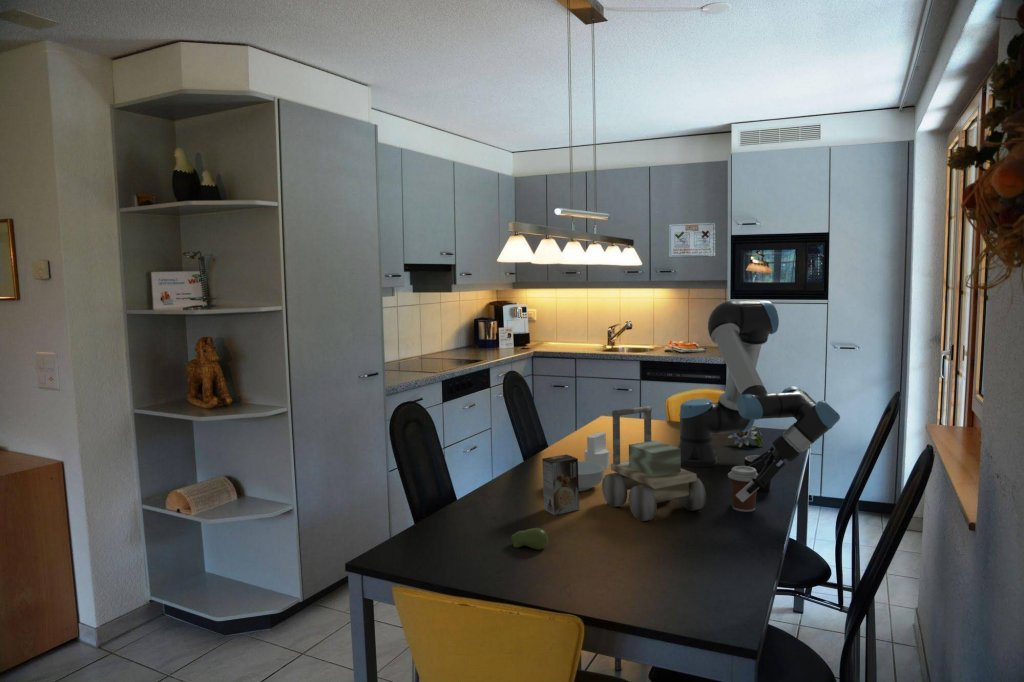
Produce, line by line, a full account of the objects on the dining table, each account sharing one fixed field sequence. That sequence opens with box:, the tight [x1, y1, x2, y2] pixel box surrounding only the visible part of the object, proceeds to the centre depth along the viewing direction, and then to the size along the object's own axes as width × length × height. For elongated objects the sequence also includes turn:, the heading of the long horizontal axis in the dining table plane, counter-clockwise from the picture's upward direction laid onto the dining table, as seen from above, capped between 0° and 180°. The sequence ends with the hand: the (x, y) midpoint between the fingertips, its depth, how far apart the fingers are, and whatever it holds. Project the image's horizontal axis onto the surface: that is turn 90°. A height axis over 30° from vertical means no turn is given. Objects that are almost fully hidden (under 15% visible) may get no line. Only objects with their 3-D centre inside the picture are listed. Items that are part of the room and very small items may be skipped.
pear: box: [510, 527, 549, 551], centre depth 175 cm, size 6×5×10 cm
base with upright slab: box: [584, 431, 610, 470], centre depth 248 cm, size 9×9×12 cm
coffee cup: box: [727, 465, 758, 513], centre depth 200 cm, size 9×9×12 cm
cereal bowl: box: [578, 460, 605, 492], centre depth 224 cm, size 17×17×7 cm
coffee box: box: [541, 454, 580, 516], centre depth 202 cm, size 9×6×16 cm
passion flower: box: [726, 425, 764, 448], centre depth 274 cm, size 11×11×12 cm
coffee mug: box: [743, 454, 772, 493], centre depth 219 cm, size 12×9×10 cm
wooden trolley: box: [601, 405, 707, 522], centre depth 202 cm, size 24×21×29 cm
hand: (736, 491), depth 200 cm, fingers open, 13 cm apart
